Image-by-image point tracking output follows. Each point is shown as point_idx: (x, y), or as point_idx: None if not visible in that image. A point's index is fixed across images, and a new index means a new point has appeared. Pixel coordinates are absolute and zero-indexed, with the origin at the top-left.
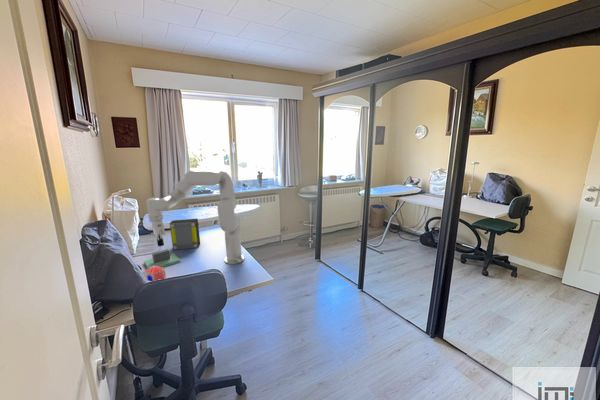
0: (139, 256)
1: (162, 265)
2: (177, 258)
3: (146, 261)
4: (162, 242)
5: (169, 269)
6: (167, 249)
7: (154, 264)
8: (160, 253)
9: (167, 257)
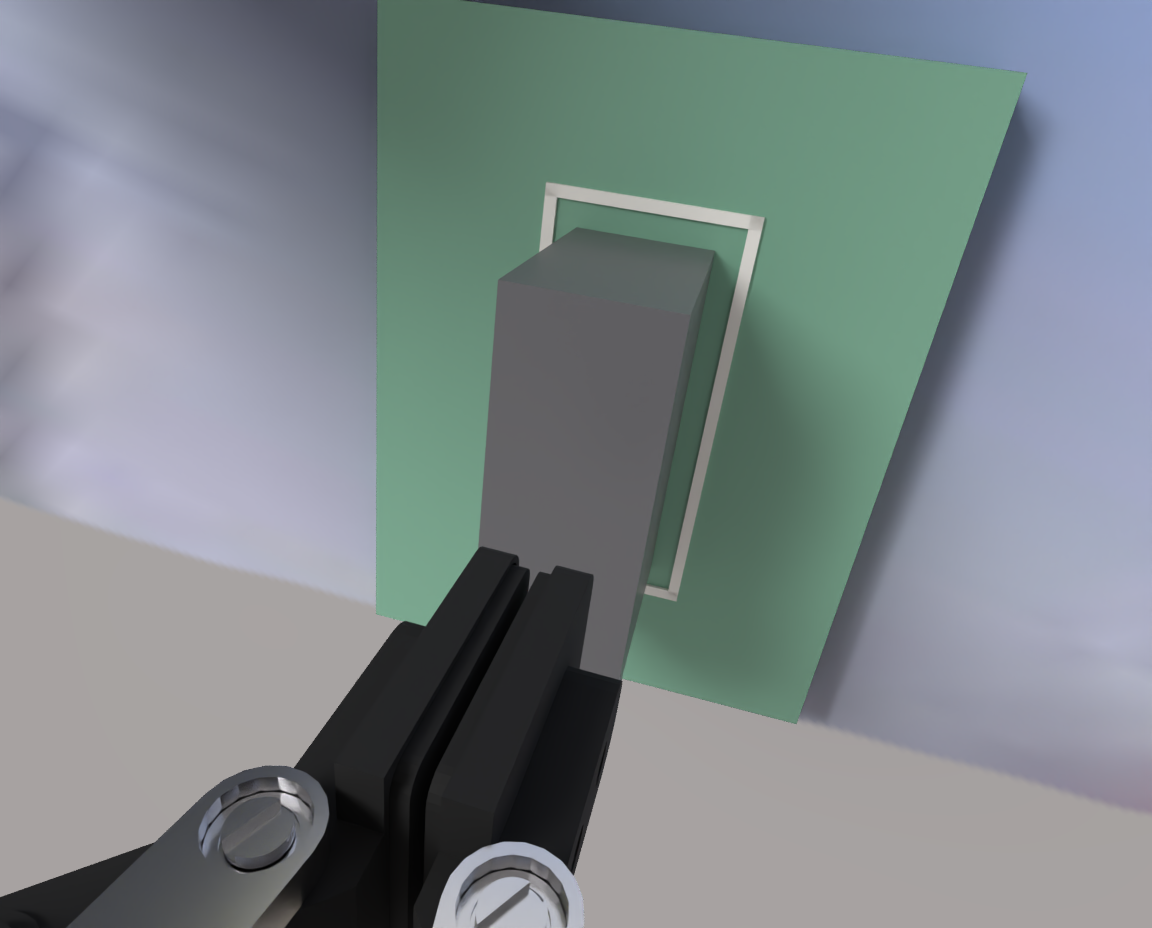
0: (41, 490)
1: (865, 511)
2: (866, 90)
3: (423, 595)
4: (550, 703)
5: (1132, 471)
6: (544, 303)
7: (693, 591)
8: (643, 554)
9: (697, 330)
